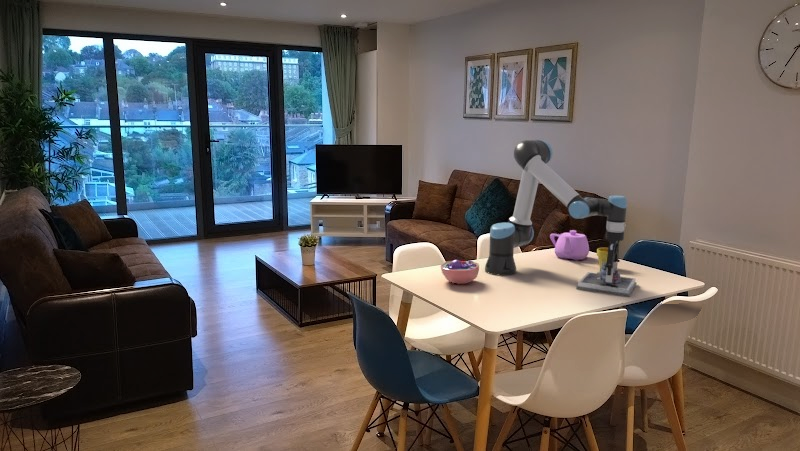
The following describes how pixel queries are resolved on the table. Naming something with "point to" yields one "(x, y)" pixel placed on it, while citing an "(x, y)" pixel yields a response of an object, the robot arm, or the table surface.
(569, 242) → the teapot
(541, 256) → the table surface
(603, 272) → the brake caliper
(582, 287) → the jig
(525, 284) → the table surface
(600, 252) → the plant pot
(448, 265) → the cell model
